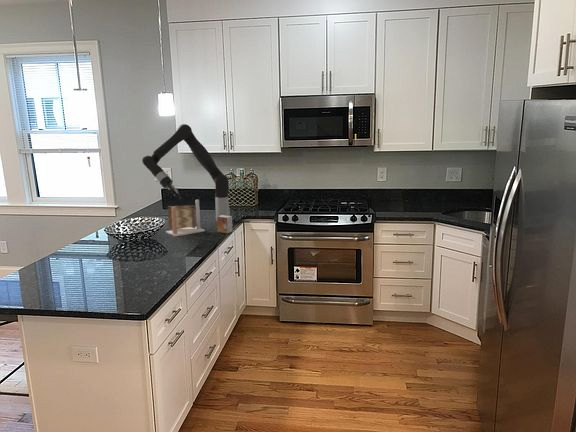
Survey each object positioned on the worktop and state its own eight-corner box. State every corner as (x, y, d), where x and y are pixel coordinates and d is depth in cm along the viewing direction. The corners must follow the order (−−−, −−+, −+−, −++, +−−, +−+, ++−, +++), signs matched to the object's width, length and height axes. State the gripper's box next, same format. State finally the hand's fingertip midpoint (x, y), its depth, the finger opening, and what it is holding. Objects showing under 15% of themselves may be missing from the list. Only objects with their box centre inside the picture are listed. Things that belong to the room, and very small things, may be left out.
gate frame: (194, 227, 304) (193, 198, 300) (204, 231, 295) (203, 200, 291) (165, 232, 291) (164, 202, 287) (175, 236, 281) (173, 204, 277)
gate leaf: (195, 227, 298) (194, 205, 295) (195, 227, 297) (194, 205, 294) (168, 228, 296) (167, 206, 293) (168, 228, 295) (167, 206, 292)
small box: (217, 232, 292) (216, 216, 290) (222, 230, 297) (221, 214, 295) (227, 233, 289) (227, 217, 286) (232, 231, 293) (232, 215, 291)
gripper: (163, 174, 295) (180, 194, 292) (172, 177, 308) (188, 196, 305) (155, 182, 295) (172, 201, 293) (164, 184, 308) (180, 203, 306)
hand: (180, 198), depth 299 cm, fingers closed
